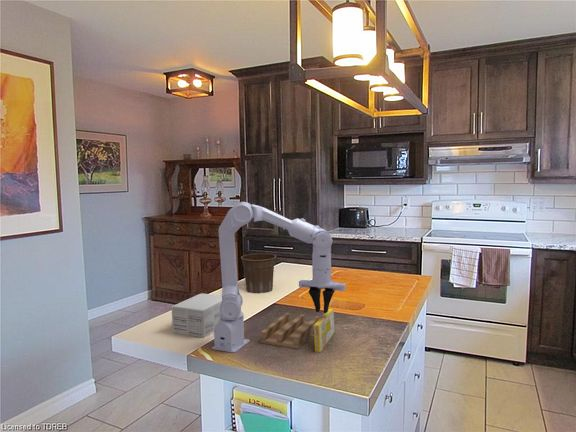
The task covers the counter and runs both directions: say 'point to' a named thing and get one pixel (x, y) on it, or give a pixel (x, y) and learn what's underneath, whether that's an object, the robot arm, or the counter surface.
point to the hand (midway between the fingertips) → (322, 311)
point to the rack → (288, 331)
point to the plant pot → (258, 272)
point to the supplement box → (196, 315)
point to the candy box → (324, 330)
